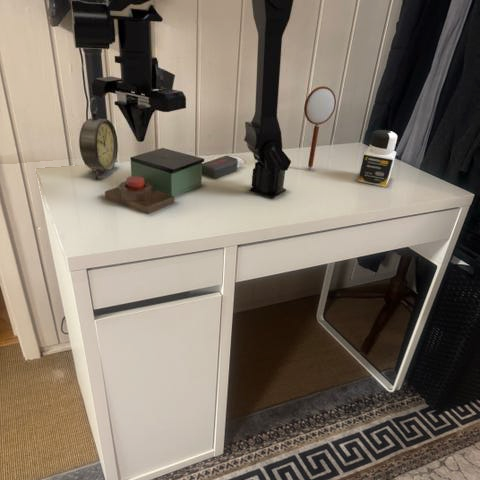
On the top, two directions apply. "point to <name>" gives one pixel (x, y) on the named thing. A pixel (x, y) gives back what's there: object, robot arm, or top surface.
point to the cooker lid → (167, 160)
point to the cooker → (169, 178)
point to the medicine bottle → (379, 158)
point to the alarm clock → (98, 143)
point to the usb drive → (220, 167)
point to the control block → (140, 197)
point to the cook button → (135, 182)
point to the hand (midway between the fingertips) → (140, 141)
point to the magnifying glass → (318, 112)
